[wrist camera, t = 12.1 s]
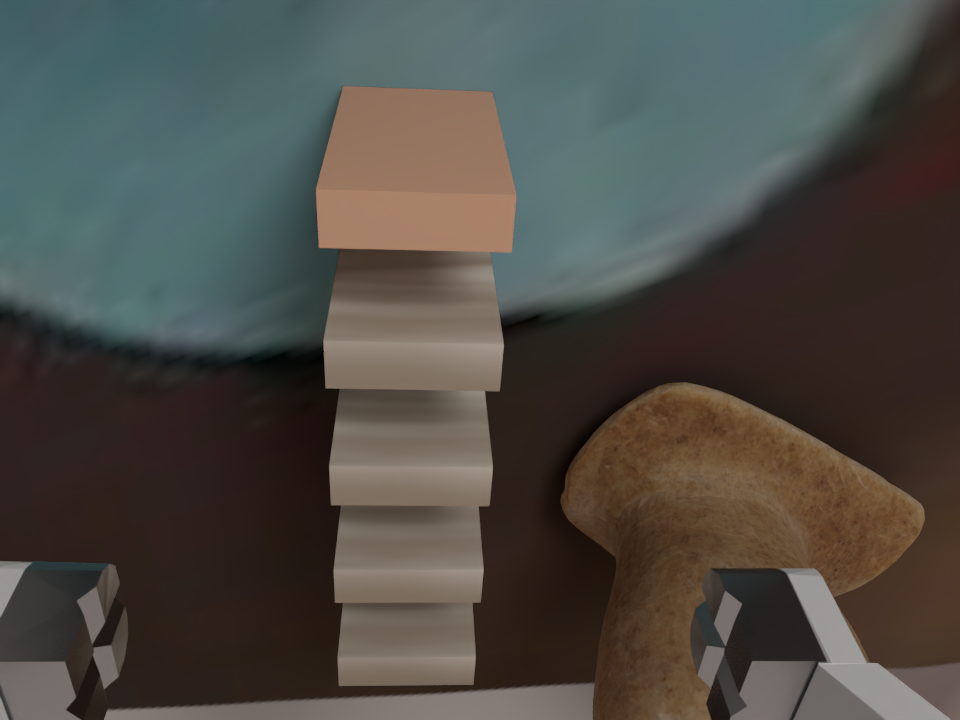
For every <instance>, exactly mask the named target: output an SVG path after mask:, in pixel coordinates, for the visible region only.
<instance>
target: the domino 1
mask: <svg viewBox="0 0 960 720" xmlns="http://www.w3.org/2000/svg"><path fill="white" fill-rule="evenodd" d="M316 202H317V221H318V240H319V248H343V249H385V250H427V251H469V252H512V244H513V232H514V220H515V207H516V191H515V187H514V182H513V178H512V174H511V170H510V165H509V161H508V157H507V153H506V148H505V144H504V140H503V136H502V131H501V127H500V123H499V119H498V115H497V110H496V106H495V102H494V98H493V93H492V92H484V91H458V90H431V89H405V88H379V87H353V86H343V89H342V93H341V96H340V100H339V104H338V108H337V112H336V115H335V119H334V123H333V127H332V130H331V134H330V138H329V142H328V145H327V149H326V153H325V157H324V160H323V164H322V168H321V172H320V175H319V179H318V183H317V187H316Z"/></svg>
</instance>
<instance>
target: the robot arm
mask: <svg viewBox="0 0 960 720" xmlns="http://www.w3.org/2000/svg"><path fill="white" fill-rule="evenodd" d="M119 584H120V582H119V578H118V575H117V571H116V568H115V566H114V565H111V564H94V563H64V562H14V561H0V720H104V717H105V715H106V712H107V709H108V704H107V700H106V696H105V692H104V689H105V688H106V687H107V686H108V685H109V684H111V683H112V682H113V681H114V680H115V679H116V678H118V677H119V674H120V670H121V667H122V664H123V661H124V658H125V652H126V646H127V639H128V618H127V614H126V609H125V606H124V605H123V604H122V603H121V602H119V601H118V600H117V599H116V598H114V597H115V595H116V592H117V589H118V586H119ZM702 590H703V593H704V596H705V599H706V600H705V601H704V602H703V603H701V604H700V605H699V606H698V607H696V608H695V610H694V614H693V618H692V621H691V628H690V646H691V652H692V658H693V662H694V666H695V669H696V672H697V675H698V676H699V677H700V678H701V679H702V680H703V681H704V682H705V683H706V684H707V685H708V686H709V687H711V690H710V693H709V696H708V699H707V702H706V705H707V708H708V711H709V714H710V717H711V720H951V719H949V718H948V717H947V716H945V715H944V714H943V713H941V712H940V711H938V709H936V708H935V707H934V706H932V705H931V704H930V703H928V702H927V701H926V700H925V699H923V698H922V697H921V696H919V695H918V694H917V693H915V692H914V691H913V690H912V689H910V688H909V687H908V686H906V685H905V684H904V683H903V682H901V681H900V680H899V679H897V678H896V677H895V676H893V675H892V674H891V673H889V672H888V671H887V670H886V669H884V668H883V667H882V666H881V665H879V664H878V663H867V662H866V660H865V658H864V656H863V654H862V652H861V650H860V648H859V646H858V644H857V642H856V640H855V638H854V637H853V635H852V633H851V631H850V629H849V627H848V625H847V623H846V621H845V619H844V617H843V615H842V614H841V612H840V610H839V608H838V606H837V604H836V602H835V600H834V598H833V596H832V594H831V592H830V590H829V589H828V587H827V585H826V583H825V581H824V579H823V577H822V575H821V574H820V573H819V572H818V571H817V570H816V569H814V568H780V569H776V568H711V569H710V570H709V571H708V572H707V573H706V575H705V578H704V581H703V584H702Z"/></svg>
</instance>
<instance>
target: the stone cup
mask: <svg viewBox="0 0 960 720" xmlns="http://www.w3.org/2000/svg"><path fill="white" fill-rule="evenodd" d="M560 502H561V505H562V509H563V511H564V513H565V515H566V516H567V518H568V520H569V521H570V522H571V523H572V524H573V525H575V526H576V527H577V528H578V529H579V530H580V531H582V532H583V533H584V534H586V535H587V536H589V537H590V538H591V539H593V540H594V541H595V542H597V543H598V544H600V545H601V546H602V547H603V548H605V549H606V550H607V551H608V552H609V553H611V554H612V555H613V556H615V560H616V564H617V566H616V572H615V578H614V582H613V586H612V590H611V594H610V598H609V602H608V605H607V609H606V613H605V616H604V620H603V625H602V630H601V636H600V642H599V648H598V659H597V668H596V676H595V688H594V698H593V720H711V717H710V714H709V711H708V708H707V705H706V702H707V699H708V696H709V693H710V690H711V687H709V686H708V685H707V684H706V683H705V682H704V681H703V680H702V679H701V678H700V677H699V676H698V675H697V672H696V669H695V666H694V662H693V658H692V652H691V646H690V628H691V621H692V618H693V614H694V610H695V608H696V607H698V606H699V605H700V604H701V603H703V602H704V601H705V600H706V599H705V596H704V593H703V590H702V584H703V581H704V578H705V575H706V573H707V572H708V571H709V570H710V569H711V568H776V569H780V568H814V569H816V570H817V571H818V572H819V573H820V574H821V575H822V577H823V579H824V581H825V583H826V585H827V587H828V589H829V590H830V592H831V594H832V596H833V597H836V596H838V595H840V594H843V593H845V592H848V591H852V590H854V589H856V588H858V587H860V586H862V585H864V584H865V583H867V582H869V581H870V580H872V579H873V578H875V577H876V576H878V575H879V574H881V573H882V572H883V571H885V570H886V569H887V568H888V567H889V566H890V565H891V564H893V563H894V562H895V561H896V560H898V559H899V557H900V556H901V555H902V553H903V552H904V551H905V550H906V549H907V548H908V547H909V546H910V545H911V544H912V543H913V542H914V540H915V539H916V538H917V537H918V535H919V533H920V531H921V529H922V526H923V523H924V520H925V516H924V509H923V507H922V505H921V504H920V503H919V502H918V501H916V500H915V499H914V498H912V497H911V496H910V495H908V494H907V493H905V492H904V491H902V490H901V489H899V488H897V487H896V486H894V485H892V484H890V483H889V482H887V481H886V480H885V479H884V478H883V477H881V476H880V475H878V474H876V473H875V472H873V471H871V470H870V469H868V468H866V467H865V466H863V465H861V464H859V463H858V462H856V461H854V460H852V459H851V458H849V457H847V456H845V455H843V454H841V453H840V452H838V451H836V450H835V449H833V448H832V447H830V446H828V445H827V444H825V443H823V442H822V441H820V440H818V439H817V438H815V437H813V436H811V435H810V434H808V433H806V432H804V431H802V430H801V429H799V428H797V427H795V426H793V425H792V424H790V423H788V422H786V421H784V420H782V419H780V418H778V417H776V416H774V415H772V414H770V413H768V412H766V411H764V410H762V409H760V408H758V407H756V406H753V405H751V404H749V403H747V402H745V401H743V400H741V399H739V398H737V397H735V396H732V395H729V394H727V393H724V392H722V391H719V390H715V389H712V388H708V387H705V386H701V385H696V384H692V383H687V382H684V383H668V384H664V385H661V386H658V387H655V388H653V389H651V390H648V391H646V392H644V393H642V394H641V395H639V396H638V397H637V398H635V399H634V400H632V401H631V402H629V403H628V404H626V405H625V406H623V407H622V408H620V409H619V410H618V411H616V412H615V413H614V414H612V415H611V416H610V417H609V418H608V419H607V420H606V421H605V422H604V423H603V424H602V425H601V426H600V427H599V428H598V429H597V430H596V431H595V432H594V433H593V435H592V436H591V437H590V438H589V440H588V441H587V442H586V443H585V444H584V446H583V447H582V448H581V449H580V450H579V452H578V453H577V454H576V456H575V457H574V459H573V461H572V462H571V464H570V466H569V469H568V471H567V474H566V479H565V490H564V491H563V493H562V495H561V499H560ZM838 608H839V607H838ZM839 610H840V609H839ZM840 612H841V610H840ZM841 614H842V615H843V613H842V612H841ZM843 617H844V619H845V621H846V623H847V625H848V627H849V629H850V631H851V633H852V635H853V637H854V638H855V640H856V642H857V644H858V646H859V648H860V650H861V652H862V654H863V656H864V658H865V660H866V662H867V663H869V660H868V658H867V655H866V653H865V651H864V649H863V647H862V645H861V643H860V641H859V639H858V637H857V635H856V633H855V632H854V630H853V628H852V626H851V625H850V623H849V622H848V620H847V619H846V617H845V616H844V615H843Z"/></svg>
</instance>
